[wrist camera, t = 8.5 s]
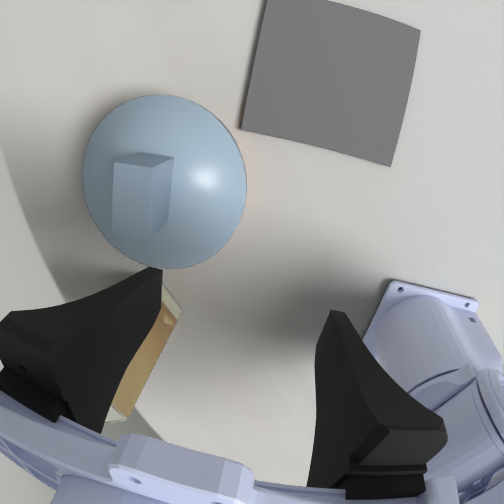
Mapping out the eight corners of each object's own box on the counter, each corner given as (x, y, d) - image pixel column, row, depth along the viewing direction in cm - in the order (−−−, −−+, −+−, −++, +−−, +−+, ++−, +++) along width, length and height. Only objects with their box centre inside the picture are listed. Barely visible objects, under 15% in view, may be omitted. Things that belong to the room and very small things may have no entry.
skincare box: (139, 331, 29) (79, 428, 18) (110, 297, 28) (37, 388, 17) (187, 310, 27) (129, 424, 16) (156, 270, 26) (77, 375, 15)
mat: (418, 31, 15) (420, 30, 14) (388, 166, 19) (390, 167, 19) (270, -9, 15) (269, -11, 15) (241, 129, 20) (240, 129, 19)
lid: (263, 108, 16) (254, 109, 13) (230, 281, 21) (218, 314, 18) (92, 91, 16) (56, 93, 13) (88, 244, 21) (60, 267, 18)
